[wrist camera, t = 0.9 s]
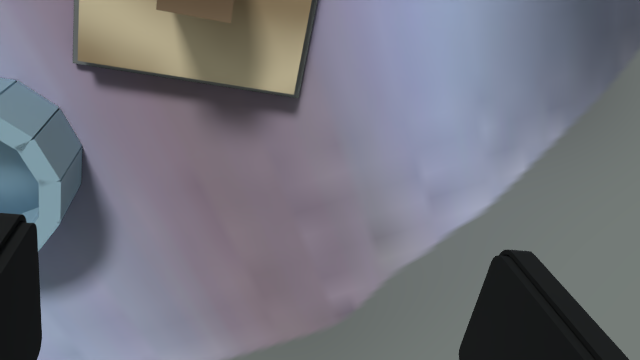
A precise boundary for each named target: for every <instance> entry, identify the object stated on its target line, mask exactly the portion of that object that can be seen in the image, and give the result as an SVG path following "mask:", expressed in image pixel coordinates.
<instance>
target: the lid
mask: <svg viewBox="0 0 640 360" xmlns="http://www.w3.org/2000/svg"><path fill="white" fill-rule="evenodd" d="M311 2H312V0H79V26H78V61H82V62H89V63H95V64H102V65H108V66H114V67H121V68H127V69H133V70H140V71H146V72H152V73H159V74H165V75H172V76H178V77H184V78H191V79H197V80H203V81H210V82H216V83H222V84H229V85H235V86H242V87H248V88H254V89H261V90H267V91H273V92H280V93H286V94H292V95H294V91H295V85H296V80H297V75H298V70H299V65H300V59H301V54H302V49H303V44H304V39H305V33H306V28H307V23H308V18H309V13H310V7H311Z"/></svg>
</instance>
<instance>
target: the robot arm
mask: <svg viewBox="0 0 640 360" xmlns="http://www.w3.org/2000/svg"><path fill="white" fill-rule="evenodd" d="M41 340H42V329H41V307H40V284H39V262H38V239H37V227H36V224H35V223H27V221H26V218H25V216H24V215H23V214H9V213H0V360H37V358H38V355H39V352H40V347H41ZM459 360H629V359H628V358H627V357H626V356H625V354H624V353H623V352H622V351H621V350H620V349H619V348H618V347H617V346H616V345H615V343H614V342H613V341H612V340H611V339H610V338H609V337H608V336H607V335H606V334H605V332H604V331H603V330H602V329H601V328H600V327H599V326H598V325H597V323H596V322H595V321H594V320H593V319H592V318H591V317H590V316H589V315H588V314H587V312H586V311H585V310H584V309H583V308H582V307H581V306H580V305H579V304H578V302H577V301H576V300H575V299H574V298H573V297H572V296H571V295H570V294H569V293H568V291H567V290H566V289H565V288H564V287H563V286H562V285H561V284H560V283H559V281H558V280H557V279H556V278H555V277H554V276H553V275H552V274H551V273H550V272H549V271H548V269H547V268H546V267H545V266H544V265H543V264H542V263H541V262H540V260H539V259H538V258H537V257H536V256H535V255H534V254H533V253H532V252H529V251H517V250H504V251H502V252H501V253H500V255H499V256H495V257H494V258H493V260H492V262H491V265H490V267H489V270H488V273H487V276H486V278H485V281H484V284H483V286H482V289H481V292H480V294H479V297H478V300H477V303H476V305H475V308H474V311H473V313H472V316H471V319H470V321H469V324H468V327H467V330H466V332H465V335H464V338H463V341H462V343H461V346H460V349H459Z"/></svg>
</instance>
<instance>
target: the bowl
mask: <svg viewBox="0 0 640 360" xmlns="http://www.w3.org/2000/svg"><path fill="white" fill-rule="evenodd" d="M58 108H59V107H58V106H56V105H54V104H53V103H51V102H50V101H48V100H47V99H45V98H44V97H42V96H41V95H39V94H37V93H36V92H34V91H33V90H31V89H30V88H28V87H27V86H25V85H24V84H22V83H21V82H19V81H17V82H16V80H12V79H5V78H0V213H9V214H23V215H24V216H25V218H26V221H27V223H35V224H36V227H37V239H38V251H39V250H40V249H41V247H42V246H43V245H44V244H45V242H46V241H47V240H48V238H49V237H50V236H51V235H52V233H53V232H54V231H55V230H56V228H57V227H58V226H59V225H60V223H61V221H62V219H63V217H64V215H65V213H66V212H67V210H68V208H69V206H70V204H71V202H72V200H73V198H74V197H75V195H76V193H77V191H78V189H79V187H80V185H81V176H82V147H81V146H82V145H81V143H80V141H79V140H78V138H77V136H76V135H75V133H74V131H73V130H72V128H71V126H70V124H69V123H68V121H67V119H66V118H65V116H64V114H63V113H62V111H61V109H58ZM57 109H58V110H57Z"/></svg>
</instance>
